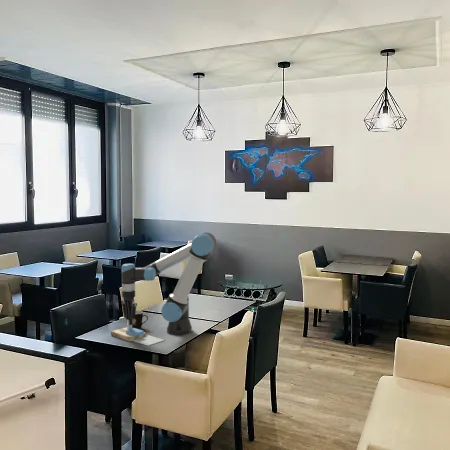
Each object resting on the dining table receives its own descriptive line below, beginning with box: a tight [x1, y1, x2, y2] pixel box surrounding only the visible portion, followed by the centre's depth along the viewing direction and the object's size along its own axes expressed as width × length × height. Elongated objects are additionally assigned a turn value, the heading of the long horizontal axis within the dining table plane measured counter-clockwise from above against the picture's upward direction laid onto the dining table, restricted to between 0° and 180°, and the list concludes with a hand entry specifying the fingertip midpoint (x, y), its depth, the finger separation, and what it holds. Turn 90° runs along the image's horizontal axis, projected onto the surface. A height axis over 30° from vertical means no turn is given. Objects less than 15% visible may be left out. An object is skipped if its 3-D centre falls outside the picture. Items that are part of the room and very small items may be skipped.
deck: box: [110, 326, 147, 343], centre depth 262 cm, size 12×18×2 cm, turn 49°
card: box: [126, 328, 145, 337], centre depth 258 cm, size 9×6×2 cm, turn 48°
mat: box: [131, 334, 165, 347], centre depth 253 cm, size 12×14×1 cm
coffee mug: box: [132, 310, 149, 330], centre depth 277 cm, size 12×9×10 cm
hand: (129, 330), depth 261 cm, fingers closed
